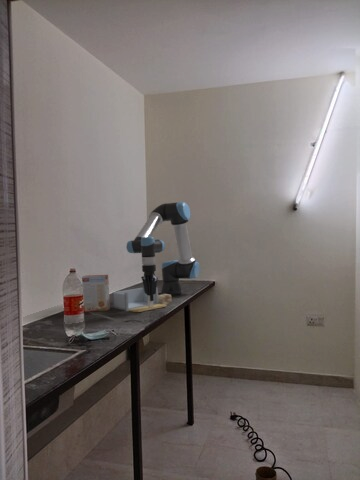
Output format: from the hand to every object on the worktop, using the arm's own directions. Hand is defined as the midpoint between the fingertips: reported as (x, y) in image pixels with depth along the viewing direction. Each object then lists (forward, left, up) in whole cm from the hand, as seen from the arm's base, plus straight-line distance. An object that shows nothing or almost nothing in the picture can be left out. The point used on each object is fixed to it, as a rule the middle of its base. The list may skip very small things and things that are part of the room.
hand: (150, 306), depth 218 cm
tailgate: (0, -8, -2) cm, 8 cm away
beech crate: (-16, -9, -3) cm, 19 cm away
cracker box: (+20, -26, -3) cm, 33 cm away
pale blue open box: (0, -16, -3) cm, 16 cm away
